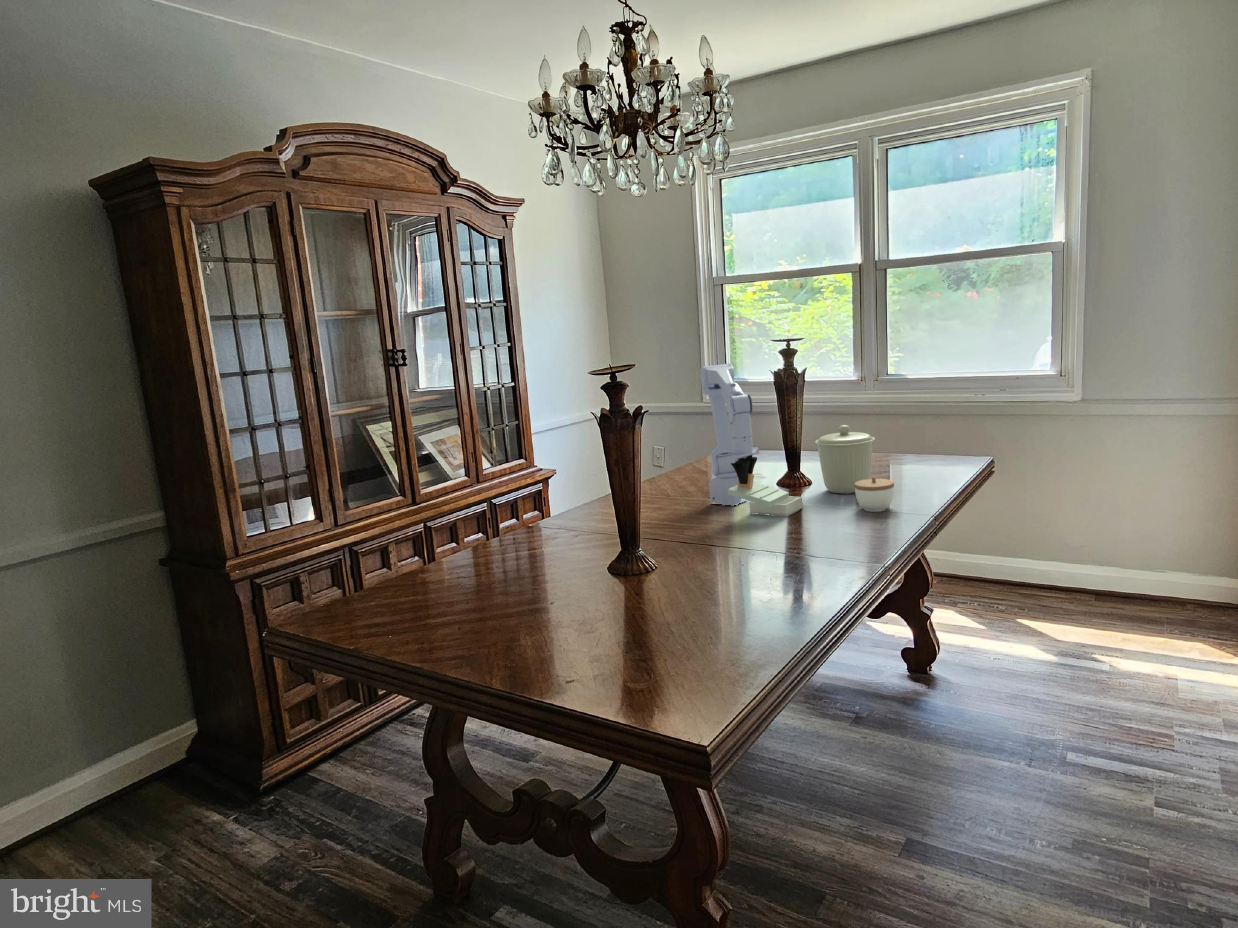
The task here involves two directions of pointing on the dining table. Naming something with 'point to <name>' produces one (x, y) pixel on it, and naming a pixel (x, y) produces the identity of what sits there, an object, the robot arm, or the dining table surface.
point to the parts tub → (779, 507)
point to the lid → (758, 492)
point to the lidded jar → (874, 494)
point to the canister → (845, 459)
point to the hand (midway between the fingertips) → (745, 483)
